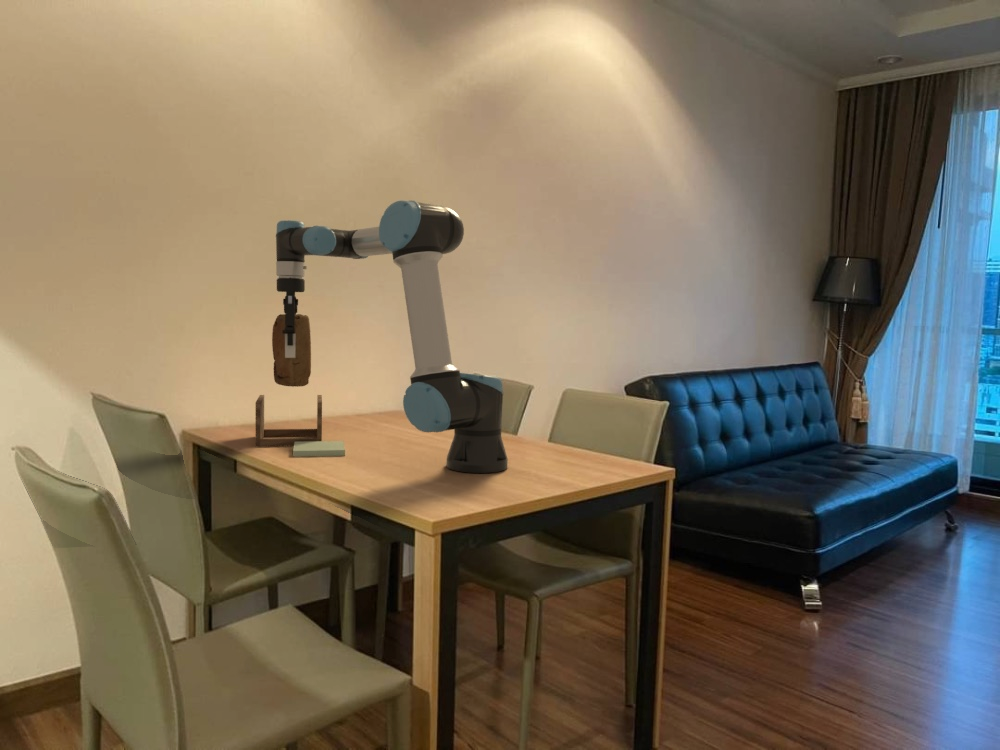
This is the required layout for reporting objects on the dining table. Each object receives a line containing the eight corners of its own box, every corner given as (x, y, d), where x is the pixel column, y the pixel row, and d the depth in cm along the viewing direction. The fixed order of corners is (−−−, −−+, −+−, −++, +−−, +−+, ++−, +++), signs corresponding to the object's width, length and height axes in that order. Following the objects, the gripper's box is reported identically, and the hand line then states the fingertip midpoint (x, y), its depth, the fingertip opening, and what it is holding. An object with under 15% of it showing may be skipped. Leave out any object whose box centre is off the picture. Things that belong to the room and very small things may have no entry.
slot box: (321, 445, 214) (322, 402, 212) (255, 446, 210) (255, 402, 208) (321, 435, 230) (321, 395, 228) (259, 436, 225) (259, 395, 224)
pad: (345, 455, 201) (345, 450, 201) (293, 456, 198) (293, 450, 198) (343, 446, 214) (343, 441, 214) (294, 447, 211) (294, 441, 211)
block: (313, 386, 217) (313, 314, 215) (290, 388, 211) (289, 314, 210) (291, 383, 224) (291, 313, 223) (268, 384, 219) (268, 313, 217)
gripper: (303, 276, 205) (304, 359, 206) (305, 279, 228) (305, 353, 229) (274, 275, 203) (274, 359, 205) (278, 278, 226) (279, 353, 228)
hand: (290, 356), depth 217 cm, fingers closed on block, 11 cm apart
